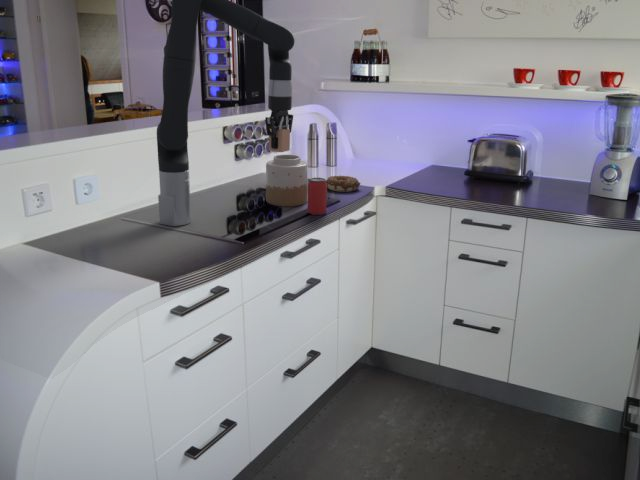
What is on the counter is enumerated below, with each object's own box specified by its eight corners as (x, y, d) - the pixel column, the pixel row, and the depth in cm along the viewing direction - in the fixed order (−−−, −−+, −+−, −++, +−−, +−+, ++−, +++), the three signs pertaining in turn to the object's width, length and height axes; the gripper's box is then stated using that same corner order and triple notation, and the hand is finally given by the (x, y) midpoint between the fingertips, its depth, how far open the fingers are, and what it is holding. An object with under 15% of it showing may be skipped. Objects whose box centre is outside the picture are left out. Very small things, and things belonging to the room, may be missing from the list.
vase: (311, 198, 230) (313, 155, 224) (299, 208, 216) (300, 162, 210) (274, 194, 234) (274, 151, 228) (259, 204, 220) (259, 158, 214)
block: (281, 152, 195) (282, 130, 193) (268, 150, 197) (268, 129, 195) (289, 150, 199) (290, 129, 197) (276, 148, 201) (276, 127, 199)
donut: (321, 191, 241) (322, 179, 239) (329, 184, 254) (330, 172, 252) (356, 194, 238) (357, 182, 236) (363, 187, 250) (363, 175, 249)
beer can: (324, 216, 207) (325, 182, 203) (305, 214, 208) (306, 180, 204) (327, 211, 213) (329, 178, 209) (309, 209, 214) (310, 176, 210)
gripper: (278, 96, 185) (277, 151, 190) (301, 94, 197) (299, 146, 202) (257, 94, 188) (257, 149, 193) (281, 92, 200) (280, 143, 205)
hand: (279, 147), depth 198 cm, fingers closed on block, 5 cm apart
